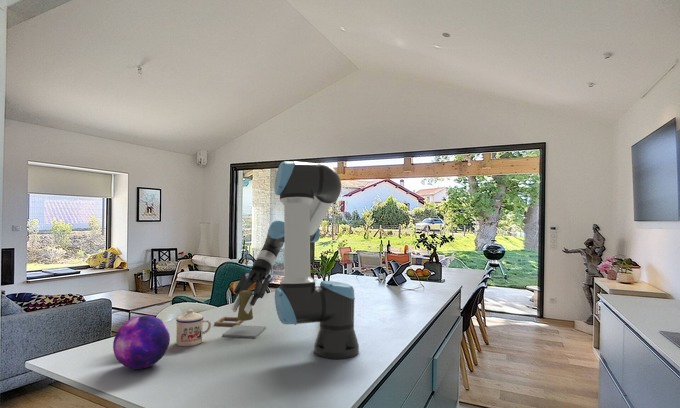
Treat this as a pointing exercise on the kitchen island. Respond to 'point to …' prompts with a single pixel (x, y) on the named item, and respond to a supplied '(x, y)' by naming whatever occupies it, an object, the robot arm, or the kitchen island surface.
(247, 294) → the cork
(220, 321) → the walnut collar
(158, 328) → the decorative orb
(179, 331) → the teacup with lid
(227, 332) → the slate coaster
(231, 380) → the kitchen island surface
